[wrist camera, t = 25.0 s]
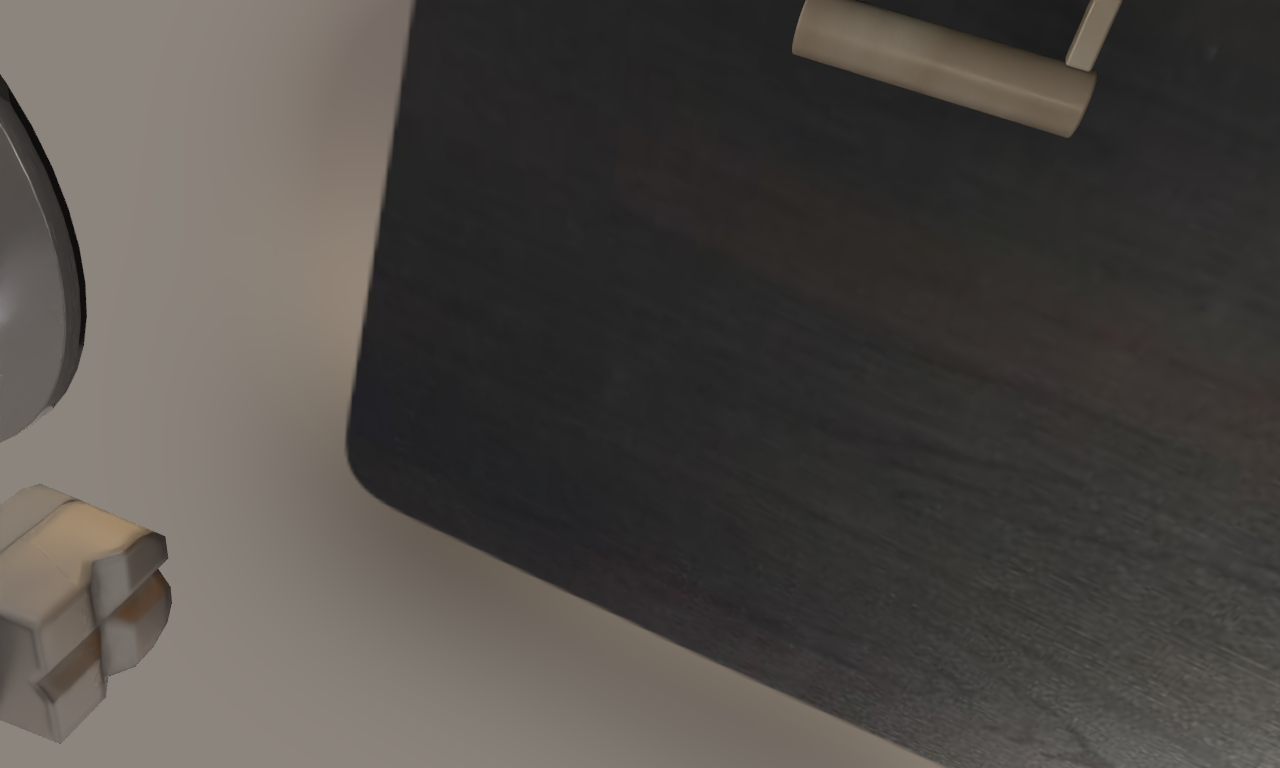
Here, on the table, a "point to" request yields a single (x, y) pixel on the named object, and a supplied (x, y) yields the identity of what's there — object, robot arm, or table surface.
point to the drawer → (959, 61)
